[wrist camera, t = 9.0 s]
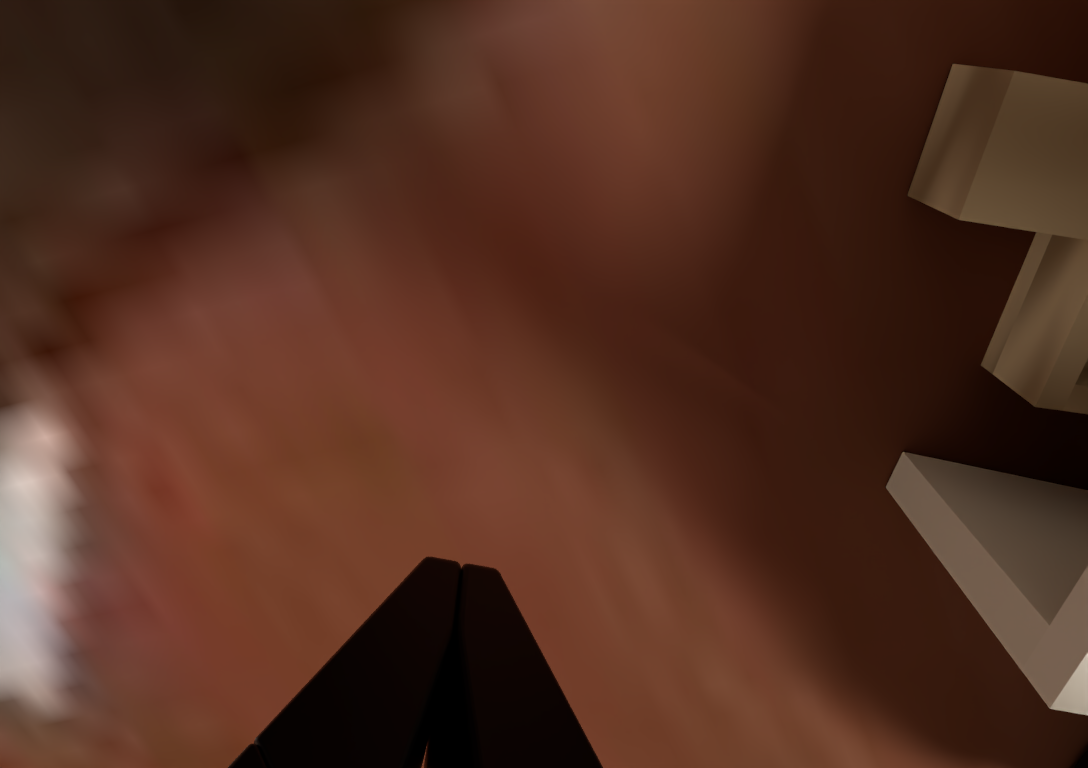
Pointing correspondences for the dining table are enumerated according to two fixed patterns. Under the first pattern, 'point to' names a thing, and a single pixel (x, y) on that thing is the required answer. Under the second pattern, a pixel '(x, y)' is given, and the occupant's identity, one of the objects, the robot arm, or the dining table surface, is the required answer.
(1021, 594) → the cream flanged slab
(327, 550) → the dining table surface
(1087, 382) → the beige flat piece
